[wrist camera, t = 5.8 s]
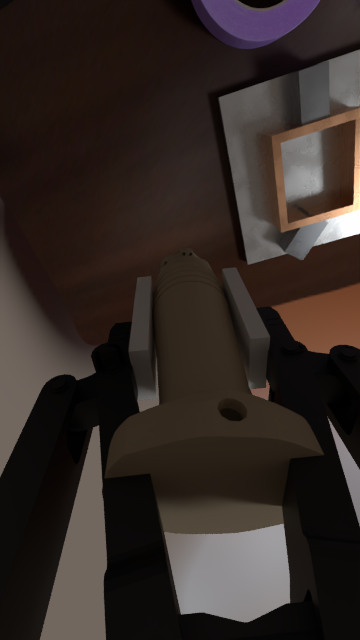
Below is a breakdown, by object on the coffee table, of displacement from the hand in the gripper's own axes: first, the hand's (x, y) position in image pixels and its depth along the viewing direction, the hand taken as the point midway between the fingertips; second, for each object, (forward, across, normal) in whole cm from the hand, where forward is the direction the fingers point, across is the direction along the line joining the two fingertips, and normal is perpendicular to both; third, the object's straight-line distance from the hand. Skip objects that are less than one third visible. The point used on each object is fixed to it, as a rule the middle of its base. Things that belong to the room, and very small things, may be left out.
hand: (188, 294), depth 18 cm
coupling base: (+22, +15, +2) cm, 26 cm away
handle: (+4, 0, 0) cm, 4 cm away
